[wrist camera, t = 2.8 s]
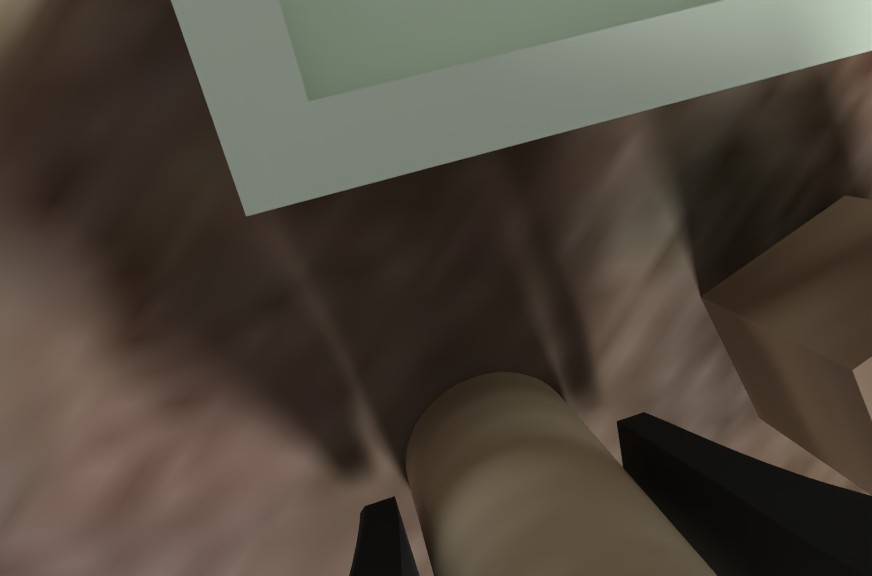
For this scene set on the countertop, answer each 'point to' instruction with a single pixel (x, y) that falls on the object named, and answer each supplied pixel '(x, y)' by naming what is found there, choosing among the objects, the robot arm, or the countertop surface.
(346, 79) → the tray
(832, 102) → the countertop surface
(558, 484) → the beech cylinder
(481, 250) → the countertop surface
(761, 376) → the walnut cube
